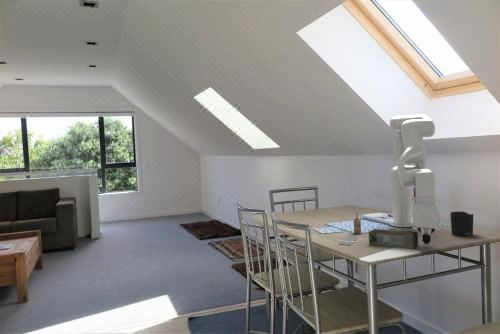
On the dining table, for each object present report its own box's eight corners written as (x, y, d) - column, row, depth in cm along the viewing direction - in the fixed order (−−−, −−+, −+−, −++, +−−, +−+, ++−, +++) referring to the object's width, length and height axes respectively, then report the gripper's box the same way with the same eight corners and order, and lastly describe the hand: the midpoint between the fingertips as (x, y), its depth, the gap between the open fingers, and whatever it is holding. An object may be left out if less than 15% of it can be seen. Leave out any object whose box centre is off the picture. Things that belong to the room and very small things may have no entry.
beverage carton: (374, 241, 174) (373, 226, 174) (419, 245, 163) (418, 230, 163) (368, 245, 168) (368, 230, 167) (415, 250, 157) (414, 234, 156)
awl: (355, 232, 192) (354, 211, 192) (361, 232, 190) (361, 211, 190) (353, 233, 189) (352, 212, 189) (360, 234, 188) (359, 212, 187)
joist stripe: (344, 236, 185) (344, 235, 185) (363, 237, 181) (363, 237, 181) (334, 244, 171) (334, 243, 171) (354, 245, 167) (354, 245, 167)
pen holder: (450, 235, 176) (449, 214, 176) (451, 231, 184) (450, 211, 184) (473, 237, 171) (473, 215, 171) (473, 233, 179) (473, 212, 179)
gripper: (405, 201, 159) (406, 244, 160) (445, 202, 152) (446, 247, 153) (407, 198, 166) (408, 240, 167) (445, 199, 158) (447, 243, 159)
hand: (426, 243), depth 160 cm, fingers closed
